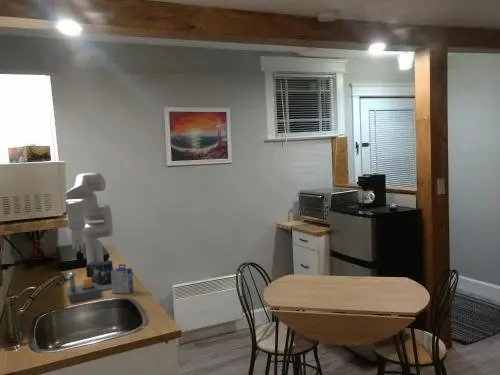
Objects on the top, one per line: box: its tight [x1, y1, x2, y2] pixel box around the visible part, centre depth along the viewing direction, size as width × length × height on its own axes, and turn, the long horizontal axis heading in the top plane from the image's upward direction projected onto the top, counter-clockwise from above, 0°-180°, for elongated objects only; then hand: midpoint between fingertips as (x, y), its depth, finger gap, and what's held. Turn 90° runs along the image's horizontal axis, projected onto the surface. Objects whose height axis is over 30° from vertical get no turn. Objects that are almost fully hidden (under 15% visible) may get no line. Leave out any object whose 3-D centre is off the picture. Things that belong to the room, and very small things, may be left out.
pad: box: [98, 283, 112, 292], centre depth 244 cm, size 9×9×1 cm
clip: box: [64, 271, 77, 284], centre depth 223 cm, size 15×4×2 cm, turn 10°
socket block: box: [66, 276, 102, 304], centre depth 232 cm, size 14×15×11 cm
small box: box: [85, 260, 114, 286], centre depth 253 cm, size 13×7×12 cm, turn 90°
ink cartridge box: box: [111, 263, 134, 294], centre depth 235 cm, size 10×6×14 cm, turn 78°
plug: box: [82, 276, 93, 290], centre depth 233 cm, size 5×5×9 cm
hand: (80, 260), depth 227 cm, fingers closed
